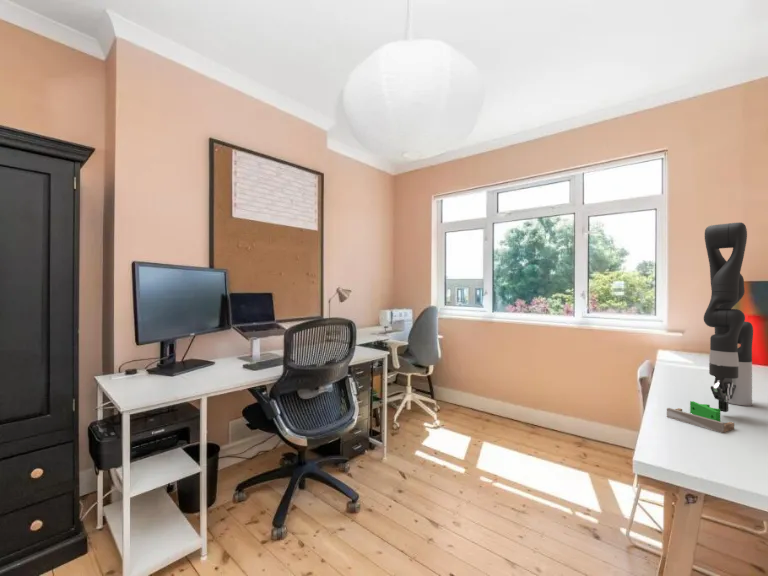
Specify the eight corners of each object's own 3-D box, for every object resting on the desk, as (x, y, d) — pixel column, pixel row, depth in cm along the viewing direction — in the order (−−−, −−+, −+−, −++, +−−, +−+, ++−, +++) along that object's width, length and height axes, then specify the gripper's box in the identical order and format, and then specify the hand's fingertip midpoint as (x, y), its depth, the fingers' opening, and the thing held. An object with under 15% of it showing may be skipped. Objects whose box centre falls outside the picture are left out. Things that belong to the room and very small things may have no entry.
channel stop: (679, 413, 125) (679, 405, 125) (734, 428, 111) (734, 419, 111) (666, 416, 121) (666, 408, 121) (722, 432, 108) (722, 423, 108)
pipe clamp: (728, 426, 114) (728, 412, 114) (715, 425, 114) (716, 412, 114) (701, 413, 125) (701, 401, 125) (690, 413, 126) (690, 400, 126)
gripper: (719, 360, 129) (718, 405, 129) (701, 362, 124) (700, 410, 124) (746, 364, 122) (746, 412, 122) (728, 366, 117) (728, 417, 117)
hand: (723, 411), depth 123 cm, fingers closed
